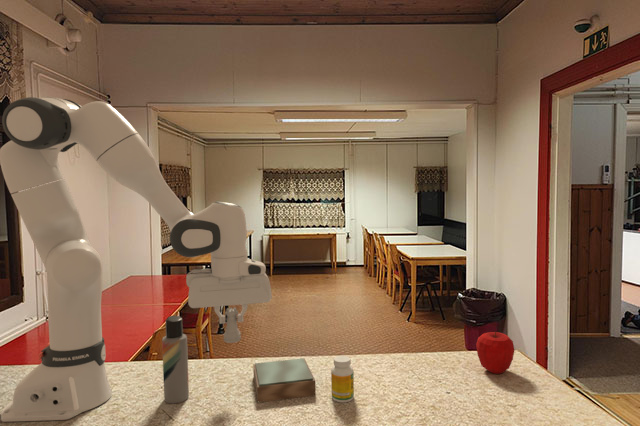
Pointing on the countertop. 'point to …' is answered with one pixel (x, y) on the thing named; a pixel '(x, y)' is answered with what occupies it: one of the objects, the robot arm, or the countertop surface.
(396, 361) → the countertop surface
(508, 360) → the apple
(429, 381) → the countertop surface
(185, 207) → the robot arm
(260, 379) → the walnut plinth
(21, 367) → the countertop surface
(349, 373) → the supplement bottle
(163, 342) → the lotion bottle
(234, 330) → the rook chess piece
